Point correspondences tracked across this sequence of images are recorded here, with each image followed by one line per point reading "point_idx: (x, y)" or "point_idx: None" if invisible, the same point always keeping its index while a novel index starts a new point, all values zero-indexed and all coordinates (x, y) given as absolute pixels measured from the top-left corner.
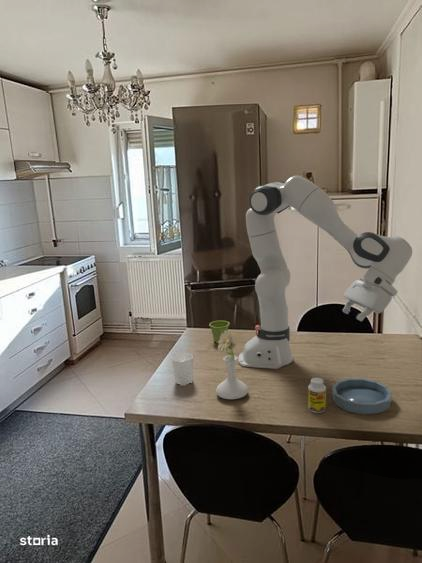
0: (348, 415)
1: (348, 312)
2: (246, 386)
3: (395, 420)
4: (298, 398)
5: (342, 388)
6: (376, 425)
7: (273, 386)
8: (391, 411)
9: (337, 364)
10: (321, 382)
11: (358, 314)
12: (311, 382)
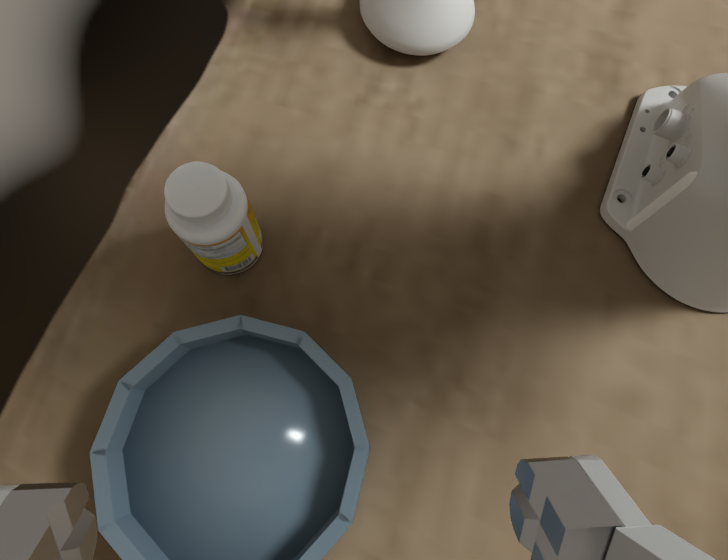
0: (149, 339)
1: (526, 541)
2: (416, 40)
3: None
4: (330, 211)
5: (342, 403)
6: (42, 411)
7: (446, 157)
8: None
9: None
10: (166, 199)
11: (14, 540)
12: (195, 163)
